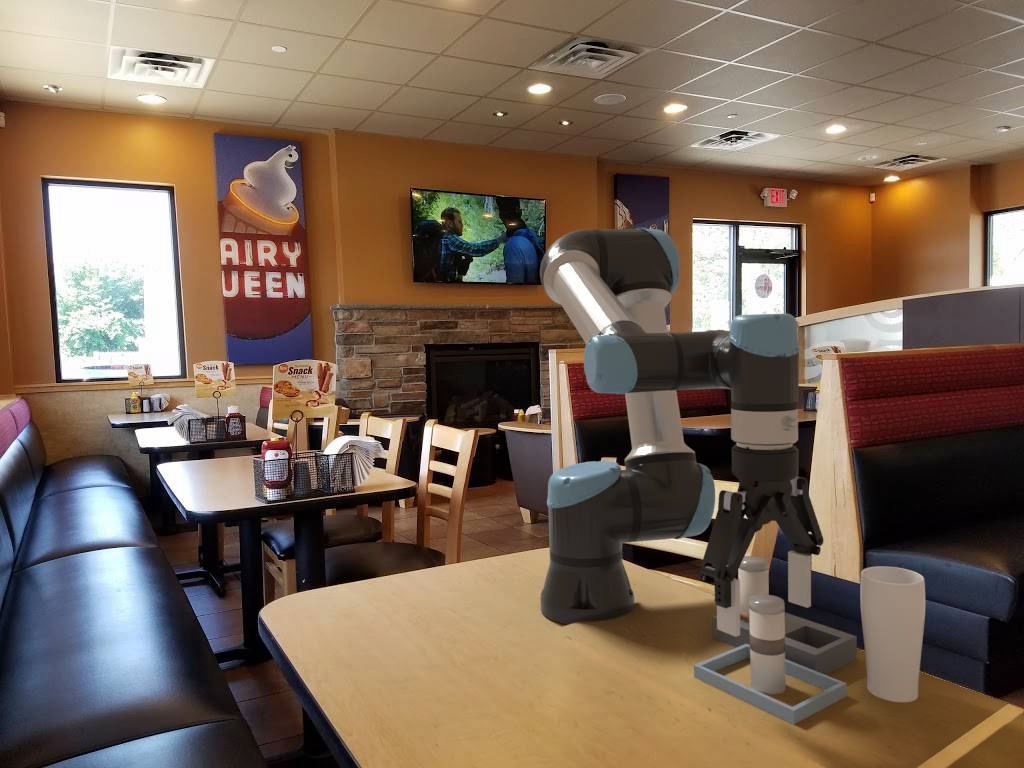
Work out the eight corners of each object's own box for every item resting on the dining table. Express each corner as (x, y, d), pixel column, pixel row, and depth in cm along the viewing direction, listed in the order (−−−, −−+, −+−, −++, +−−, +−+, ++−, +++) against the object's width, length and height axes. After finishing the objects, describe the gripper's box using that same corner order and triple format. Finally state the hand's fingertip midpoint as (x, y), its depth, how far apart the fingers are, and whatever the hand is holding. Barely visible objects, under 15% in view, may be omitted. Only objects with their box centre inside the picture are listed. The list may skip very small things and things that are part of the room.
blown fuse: (743, 687, 89) (741, 599, 88) (764, 678, 91) (762, 592, 91) (772, 700, 86) (770, 609, 85) (793, 690, 88) (791, 601, 87)
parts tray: (694, 684, 92) (693, 665, 92) (746, 661, 97) (746, 643, 97) (793, 732, 80) (793, 710, 80) (846, 703, 86) (846, 683, 85)
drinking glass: (923, 719, 82) (923, 588, 81) (857, 704, 85) (856, 579, 84) (926, 693, 88) (926, 570, 87) (864, 680, 91) (863, 562, 90)
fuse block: (713, 644, 103) (712, 616, 103) (753, 628, 108) (753, 601, 108) (815, 686, 90) (815, 655, 90) (856, 666, 95) (856, 636, 95)
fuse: (732, 636, 103) (731, 559, 103) (751, 628, 106) (750, 554, 105) (757, 645, 100) (756, 566, 99) (775, 637, 102) (774, 560, 101)
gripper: (719, 462, 77) (721, 657, 78) (853, 435, 91) (852, 601, 92) (667, 453, 83) (670, 634, 84) (799, 429, 97) (800, 585, 98)
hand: (765, 617), depth 88 cm, fingers open, 13 cm apart
